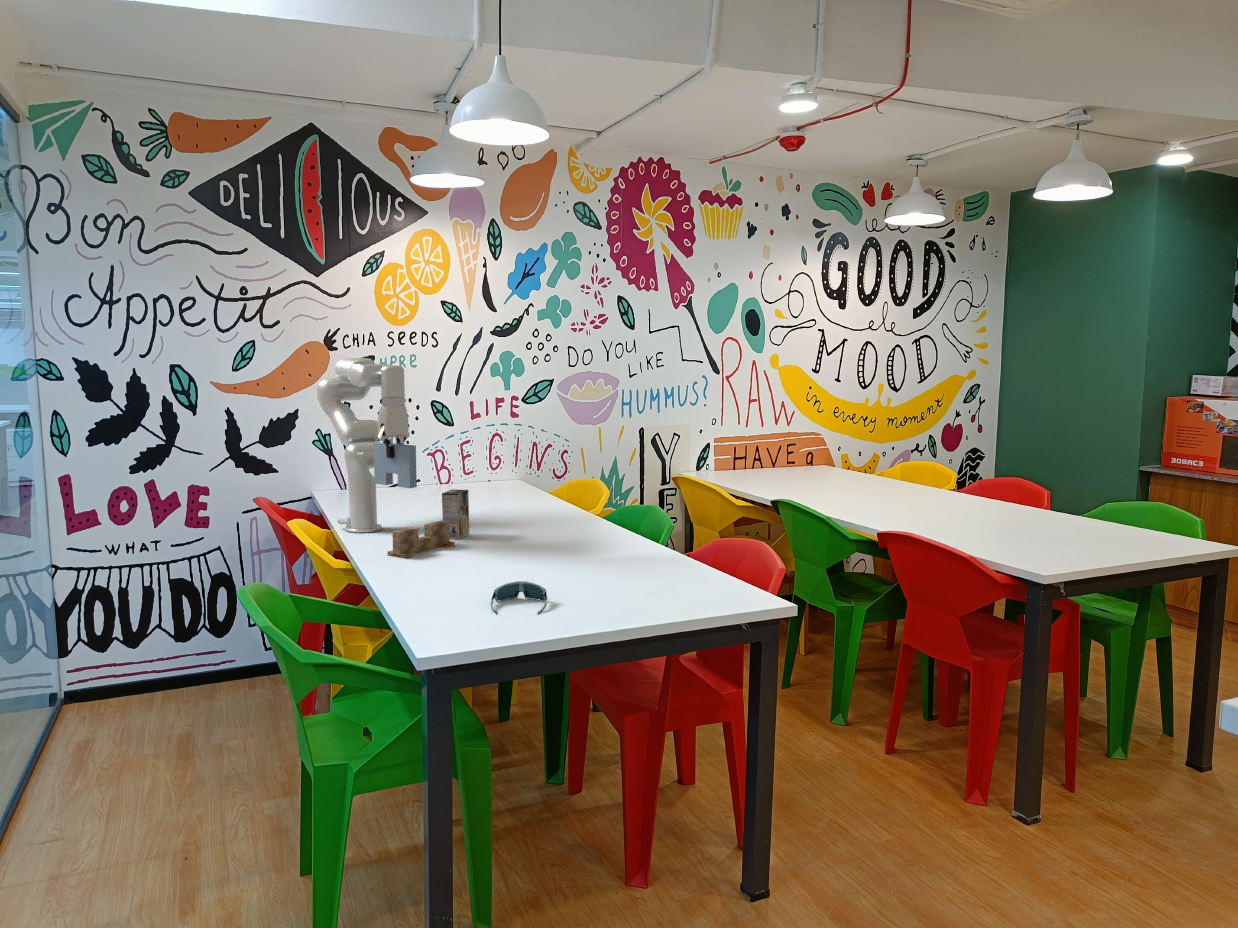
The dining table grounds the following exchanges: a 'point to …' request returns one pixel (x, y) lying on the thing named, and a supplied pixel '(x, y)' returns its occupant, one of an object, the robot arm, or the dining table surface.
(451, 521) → the coffee box
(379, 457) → the slate grey plank
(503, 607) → the dining table surface
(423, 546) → the slotted base board
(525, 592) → the sunglasses
